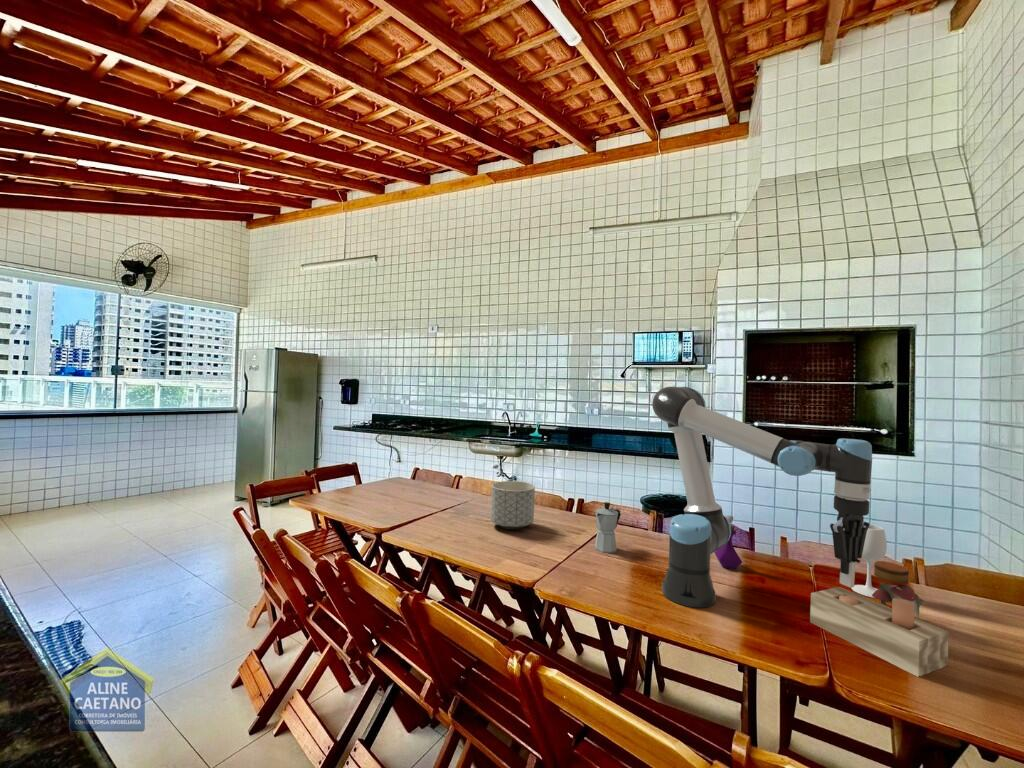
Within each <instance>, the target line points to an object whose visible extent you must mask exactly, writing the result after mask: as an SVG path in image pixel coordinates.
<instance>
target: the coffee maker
mask: <svg viewBox="0 0 1024 768" xmlns="http://www.w3.org/2000/svg"><path fill="white" fill-rule="evenodd" d="M603 505H604V507H603V508H598V509H596V510H595V520H596V521H595V522H596V528H597V533H596V537H595V543H594V549H595V551H598V552H600V553H605V554H613V553H615V552H617V551H618V550H617V549H618V548H617V541H616V533H615V530H616V529H617V526H618V525H619V521H620V518H621V515H622V514H621V511H620V509H618V508H613V507H610V505H611V503H610V502H607V501H604V502H603Z"/></svg>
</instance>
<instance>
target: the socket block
mask: <svg viewBox="0 0 1024 768" xmlns="http://www.w3.org/2000/svg"><path fill="white" fill-rule="evenodd" d="M841 595H844V596H849V597H853V598H855V599H857V600H858V605H854V606H852V605H850V604H848V603H846V602H843V601H841V600H839V596H841ZM809 610H810V611H809V615H810V617H809V622H810V623H811V624H812V625H815V626H817V627H818V628H820V629H823V630H825V631H827V632H829V633H830V634H833V635H834V636H837V637H838V638H841V639H842V640H845V641H846V642H848V643H850V644H852V645H854V646H856V647H859V648H860V649H862V650H864V651H866V652H867V653H869V654H872V655H874V656H875V657H878V658H880V659H881V660H883V661H886V662H888V663H890V664H892V665H894V666H896V667H898V668H899V669H901V670H903V671H905V672H907V673H909V674H911V675H914V676H915V677H917V678H920V677H923V676H925V675H928V674H931V673H933V672H935V671H938V670H940V669H943V668H946V667H948V665H949V663H948V662H949V631H948V630H947V629H943V628H941V627H938V626H936V625H934V624H931V623H929V622H927V621H925V620H921V619H920V618H918V617H917V618H916V617H914V629H912V630H908V629H905V628H903V627H901V626H898V625H896V624H894V623H892V607H889V606H888V605H887V606H885V605H883V604H881V602H879V601H878V602H877V601H876V600H872V599H870V598H869V597H866V596H864V595H861V594H859V593H857V592H854V591H851V590H848V589H846V588H843V587H841V586H835V587H832V588H828V589H823V590H818V591H814V592H811V593H810V609H809ZM932 671H933V672H932ZM919 676H920V677H919Z"/></svg>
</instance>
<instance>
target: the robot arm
mask: <svg viewBox="0 0 1024 768" xmlns="http://www.w3.org/2000/svg"><path fill="white" fill-rule="evenodd" d="M705 400H706V399H704V396H703V395H702V393H700V392H699V391H698V390H696V389H694V388H691V387H687V386H667V387H666V386H665V387H663V388H661V389H659V390H658V391H657V392H656V393H655V395H654V397H653V399H652V403H651V404H652V405H651V406H652V409H653V413H654V415H656V417H657V418H659V419H660V420H662V421H663V422H666V423H667V428H668V430H670V431H671V432H672V433H673V434H674V439H675V440H674V441H675V445H676V451H677V455H678V460H679V465H680V469H681V470H680V471H681V475H682V481H683V487H684V491H685V496H686V501H687V504H686V506H685V507H684V508H683V512H684V514H682V513H681V514H678V515H677V514H676V515H674V517H672V518H671V520H670V523H669V529H668V530H669V531H668V532H669V533H668V534H669V538H668V540H669V541H668V543H669V545H668V548H669V549H668V568H667V570H666V573H665V575H664V576H665V577H664V578H663V581H662V583H661V592H662V595H664V597H666V598H667V599H668V600H670V601H671V602H673V603H675V604H679V605H682V606H686V607H691V608H707V607H708V608H709V607H711V606H713V605H714V604H715V603H716V599H717V598H716V597H717V595H716V591H715V588H714V585H713V581H712V576H711V554H714V552H715V551H716V550H718V549H720V548H722V547H723V546H724V545H725V544H726V543H727V542H728V540H729V538H730V536H731V526H732V525H731V526H730V522H729V521H728V519H727V518H726V517H725V515H724V512H723V509H722V506H721V505H720V504H718V503H717V502H716V499H715V494H714V489H713V488H714V487H713V484H712V479H711V474H710V470H709V464H708V459H707V454H706V448H705V443H704V439H703V435H705V436H707V437H709V438H712V439H714V440H716V441H719V442H721V443H723V444H726V445H728V446H731V447H732V448H735V449H738V450H740V451H742V452H745V453H747V454H749V455H751V456H754V457H757V458H759V459H761V460H763V461H765V462H768V463H770V464H772V465H774V466H775V467H778V468H780V470H781V471H783V472H784V473H785V474H787V475H789V476H793V477H800V476H801V477H802V476H805V475H806V476H807V475H808V474H810V473H811V472H812V471H814V470H815V471H822V472H829V473H834V491H833V492H834V494H835V495H834V496H833V509H834V510H835V511H837V512H838V513H837V517H836V523H830V524H829V527H830V530H831V534H832V543H833V552H834V558H835V559H837V560H840V568H839V570H840V572H839V584H841V585H843V586H845V587H848V588H851V587H854V585H855V575H856V563H859V564H860V563H861V561H862V560H860V559H863V558H862V553H863V548H864V543H865V538H866V533H867V530H868V528H869V525H870V522H867V521H864V520H865V519H864V516H868V515H869V513H870V501H869V500H868V499H870V496H871V492H872V489H871V481H872V480H871V479H872V466H873V465H872V464H873V446H872V444H871V442H869V441H867V440H863V439H855V438H843V437H842V438H838V439H837V440H836V443H835V444H826V443H820V442H819V443H818V442H811V441H804V440H792V439H791V440H788V439H785V438H783V437H781V436H779V435H776V434H773V433H771V432H768V431H767V430H763V429H760V428H757V427H755V426H753V425H750V424H748V423H745V422H742V421H740V420H738V419H735V418H733V417H730V416H727V415H726V414H722V413H719V412H717V411H715V410H712V409H709V408H707V406H706V401H705ZM851 589H852V588H851Z"/></svg>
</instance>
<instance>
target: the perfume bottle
mask: <svg viewBox="0 0 1024 768" xmlns="http://www.w3.org/2000/svg"><path fill="white" fill-rule="evenodd" d="M724 516H725V517H726V518H727V519H728V521H729V523H730V526H731V536H730V538H729V540H728V542H727V543H726V544H725V545H724V546H723V547H722V548H720V549H718V550H716V551H715V552H713V554H714V555H715V556H716V557H715V558H716V559H717V561H718V563H719V564H720V565H721V568H723V569H733V570H736V569H737V568H738V567H739V566H740V565H741V564H742V563H743V561H742V559H741V558H740V556H739V555H738V554H739V553H738V552H737V551H736V550H735V547H734V545H733V537H734V535H736V534H737V531H736V530H735V529H736V528H735V526H733V525H731V523H733V521H734V516H733V515H727V514H726V515H724Z"/></svg>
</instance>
